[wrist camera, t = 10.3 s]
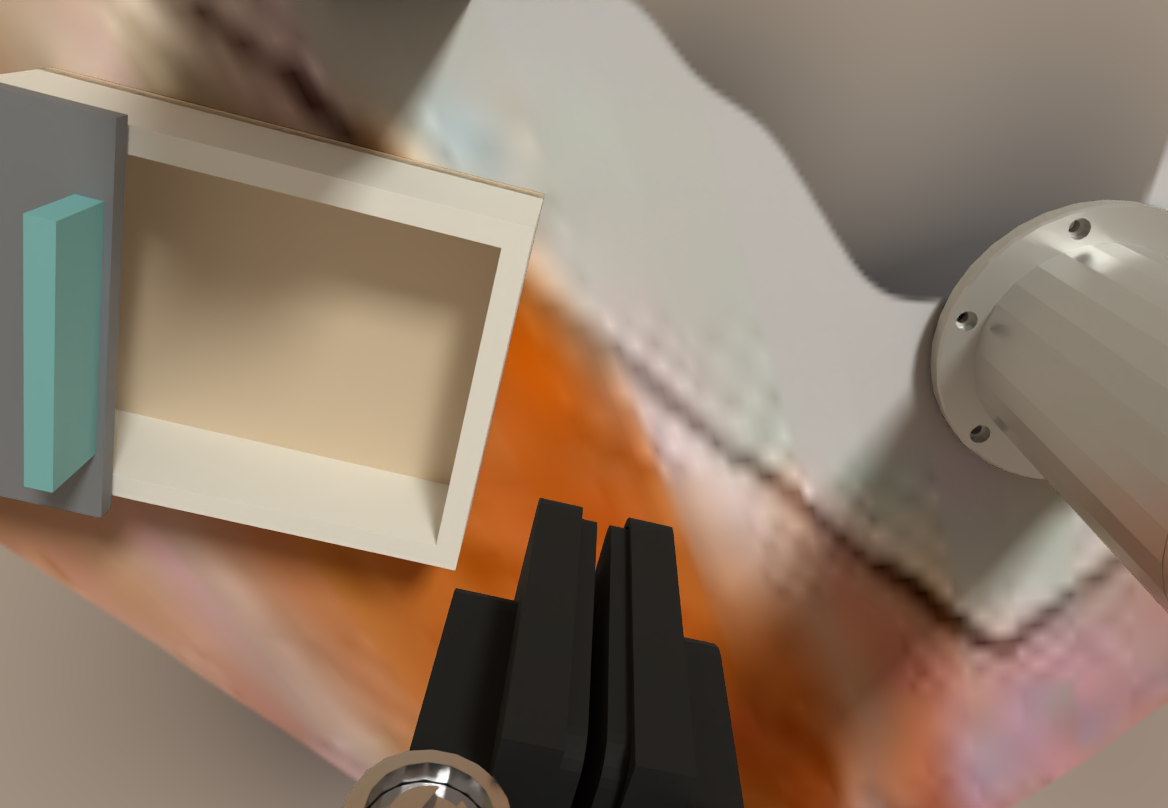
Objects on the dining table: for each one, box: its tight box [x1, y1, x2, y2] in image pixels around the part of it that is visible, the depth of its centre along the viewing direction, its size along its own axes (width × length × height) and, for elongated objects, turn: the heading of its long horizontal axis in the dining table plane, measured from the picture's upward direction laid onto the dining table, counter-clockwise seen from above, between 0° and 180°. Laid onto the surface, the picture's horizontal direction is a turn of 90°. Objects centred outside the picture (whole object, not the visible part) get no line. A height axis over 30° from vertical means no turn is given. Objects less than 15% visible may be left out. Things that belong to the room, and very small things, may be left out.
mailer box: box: [0, 67, 545, 570], centre depth 37 cm, size 20×15×6 cm
